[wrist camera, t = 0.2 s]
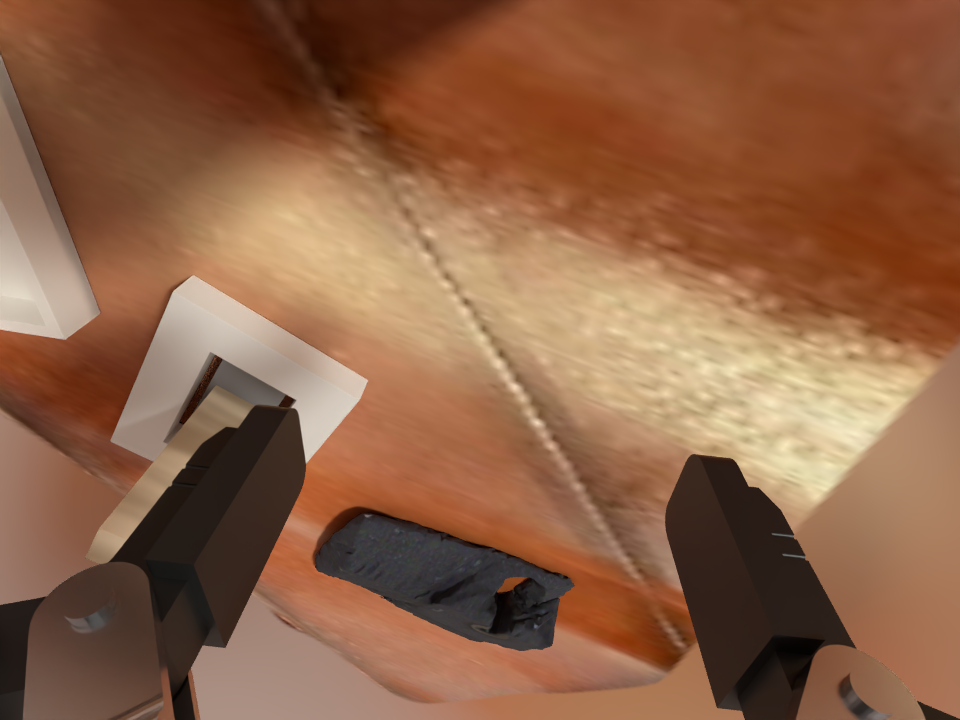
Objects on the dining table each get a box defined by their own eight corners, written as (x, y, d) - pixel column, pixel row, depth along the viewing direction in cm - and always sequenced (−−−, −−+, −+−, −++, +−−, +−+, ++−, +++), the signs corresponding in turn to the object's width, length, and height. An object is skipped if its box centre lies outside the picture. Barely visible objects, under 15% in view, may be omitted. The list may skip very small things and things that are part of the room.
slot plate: (193, 274, 29) (173, 291, 28) (368, 380, 33) (359, 400, 31) (128, 422, 38) (110, 441, 36) (273, 493, 41) (263, 514, 40)
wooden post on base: (233, 345, 32) (102, 498, 23) (294, 380, 34) (196, 539, 24) (191, 421, 37) (67, 575, 27) (246, 449, 38) (147, 605, 29)
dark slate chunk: (373, 476, 40) (356, 527, 36) (588, 579, 45) (593, 633, 42) (304, 558, 48) (284, 608, 44) (494, 637, 54) (490, 686, 50)
